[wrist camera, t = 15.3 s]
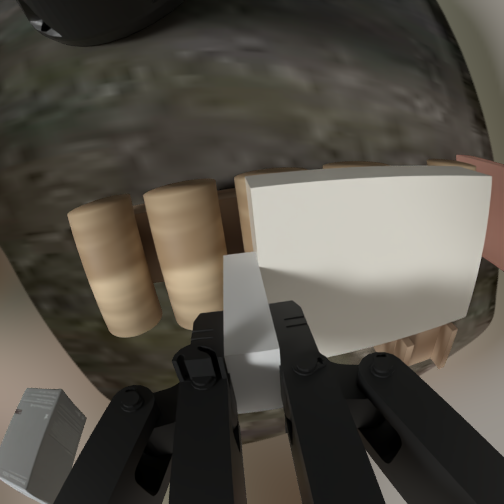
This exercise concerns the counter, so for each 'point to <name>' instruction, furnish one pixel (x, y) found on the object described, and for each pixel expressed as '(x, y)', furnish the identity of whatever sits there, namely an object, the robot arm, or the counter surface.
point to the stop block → (492, 208)
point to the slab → (370, 247)
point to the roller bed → (165, 248)
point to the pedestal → (423, 346)
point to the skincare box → (41, 444)
